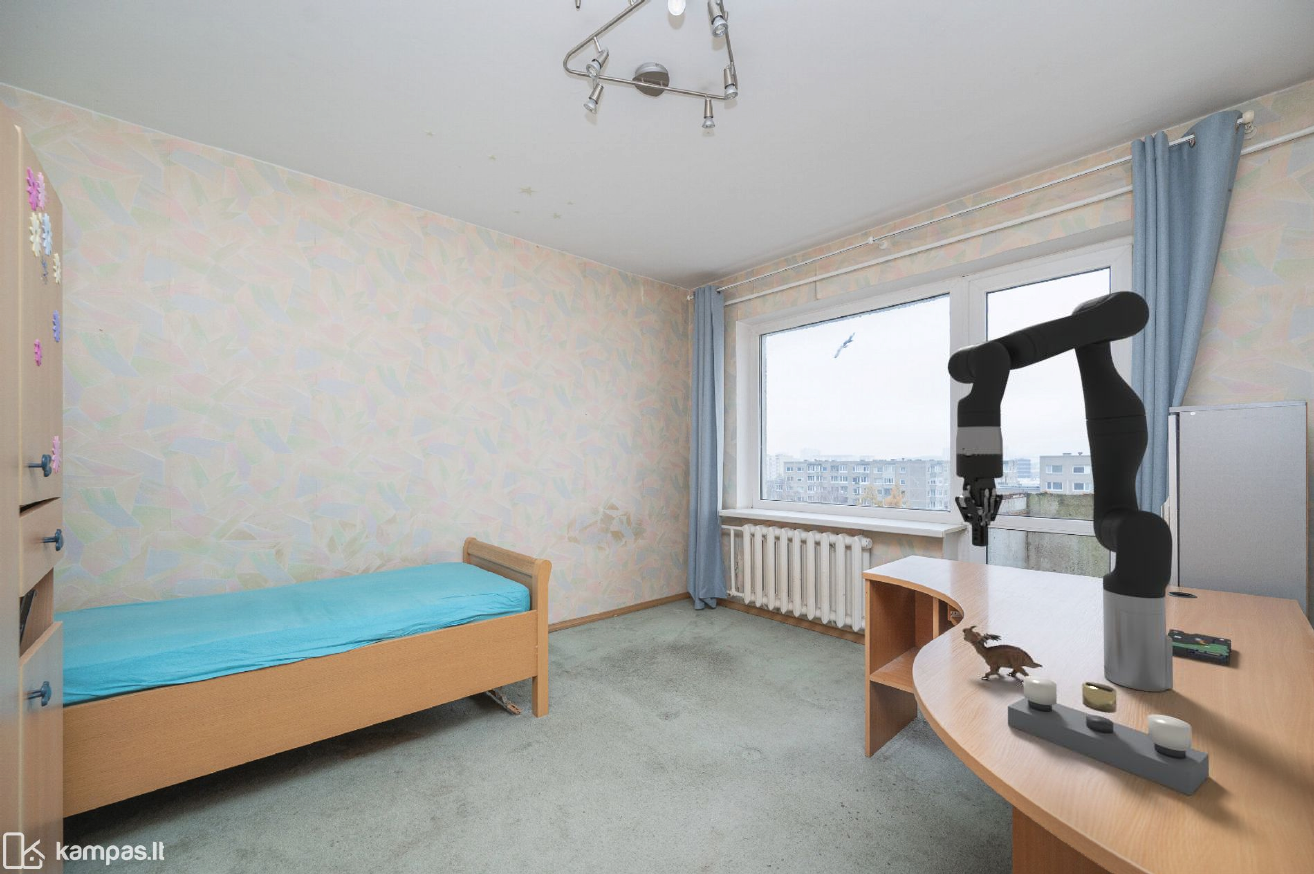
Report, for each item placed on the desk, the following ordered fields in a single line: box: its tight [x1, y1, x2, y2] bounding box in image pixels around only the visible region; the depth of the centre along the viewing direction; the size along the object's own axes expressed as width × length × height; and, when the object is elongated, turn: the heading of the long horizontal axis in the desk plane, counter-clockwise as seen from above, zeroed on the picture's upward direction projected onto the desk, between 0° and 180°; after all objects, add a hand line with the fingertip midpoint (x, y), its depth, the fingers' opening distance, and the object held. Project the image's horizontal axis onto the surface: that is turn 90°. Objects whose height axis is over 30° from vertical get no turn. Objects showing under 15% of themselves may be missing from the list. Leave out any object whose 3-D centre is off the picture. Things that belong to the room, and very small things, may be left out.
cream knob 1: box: [1023, 675, 1058, 705], centre depth 90 cm, size 4×4×3 cm
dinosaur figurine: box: [962, 625, 1043, 683], centre depth 109 cm, size 14×6×9 cm, turn 67°
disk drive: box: [1166, 628, 1232, 667], centre depth 124 cm, size 10×3×15 cm
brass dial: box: [1081, 681, 1118, 714], centre depth 84 cm, size 4×4×3 cm
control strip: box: [1007, 697, 1210, 796], centre depth 83 cm, size 22×8×4 cm, turn 33°
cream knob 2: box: [1147, 714, 1193, 751], centre depth 77 cm, size 4×4×3 cm
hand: (979, 545), depth 103 cm, fingers closed
